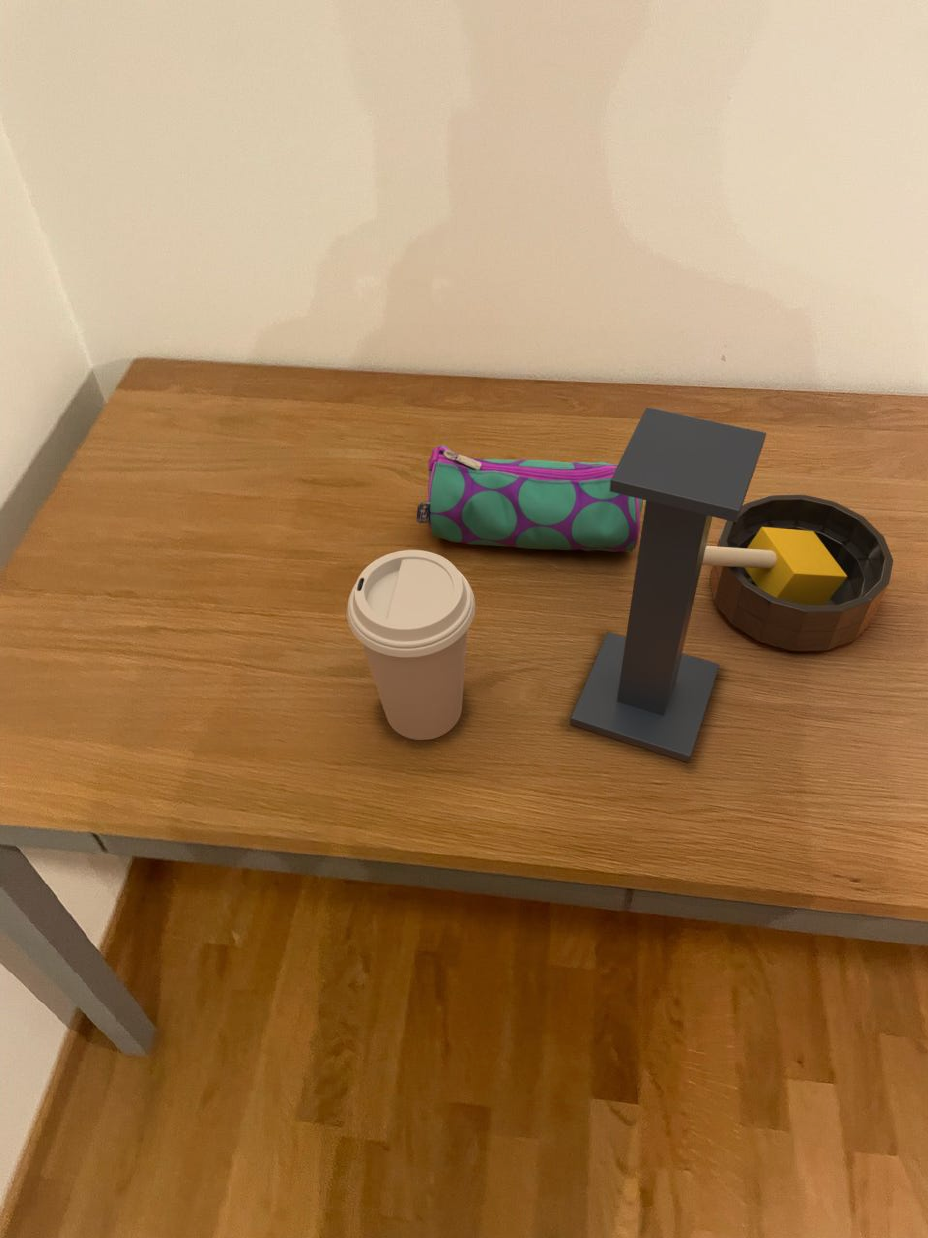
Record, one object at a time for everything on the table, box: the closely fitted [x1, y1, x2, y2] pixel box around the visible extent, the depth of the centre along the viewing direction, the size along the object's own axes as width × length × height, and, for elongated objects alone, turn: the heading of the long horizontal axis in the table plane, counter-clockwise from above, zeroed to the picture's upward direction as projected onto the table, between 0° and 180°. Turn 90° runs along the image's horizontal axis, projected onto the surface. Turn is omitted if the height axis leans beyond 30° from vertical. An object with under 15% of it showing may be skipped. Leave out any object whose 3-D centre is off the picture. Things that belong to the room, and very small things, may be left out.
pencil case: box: [416, 444, 644, 553], centre depth 88 cm, size 21×9×10 cm, turn 82°
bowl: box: [709, 493, 894, 652], centre depth 83 cm, size 14×14×6 cm
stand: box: [569, 406, 767, 764], centre depth 68 cm, size 10×10×26 cm
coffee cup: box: [346, 549, 476, 741], centre depth 73 cm, size 10×10×15 cm
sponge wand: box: [702, 527, 847, 606], centre depth 80 cm, size 19×6×4 cm, turn 105°
